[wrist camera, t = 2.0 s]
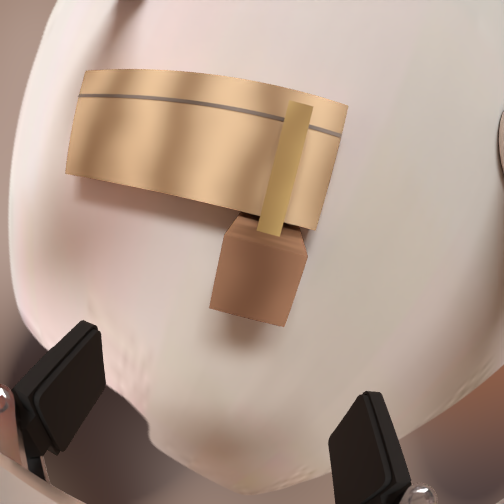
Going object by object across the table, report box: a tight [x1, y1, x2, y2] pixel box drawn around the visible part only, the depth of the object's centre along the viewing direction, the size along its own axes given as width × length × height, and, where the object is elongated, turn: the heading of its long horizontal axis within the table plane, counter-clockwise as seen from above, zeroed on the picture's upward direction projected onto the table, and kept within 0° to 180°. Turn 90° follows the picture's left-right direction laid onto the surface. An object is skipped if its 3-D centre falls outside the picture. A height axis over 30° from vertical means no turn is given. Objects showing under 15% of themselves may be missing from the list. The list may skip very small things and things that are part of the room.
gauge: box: [209, 100, 313, 327], centre depth 20 cm, size 5×14×8 cm, turn 167°
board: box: [65, 69, 348, 230], centre depth 21 cm, size 23×10×2 cm, turn 77°
